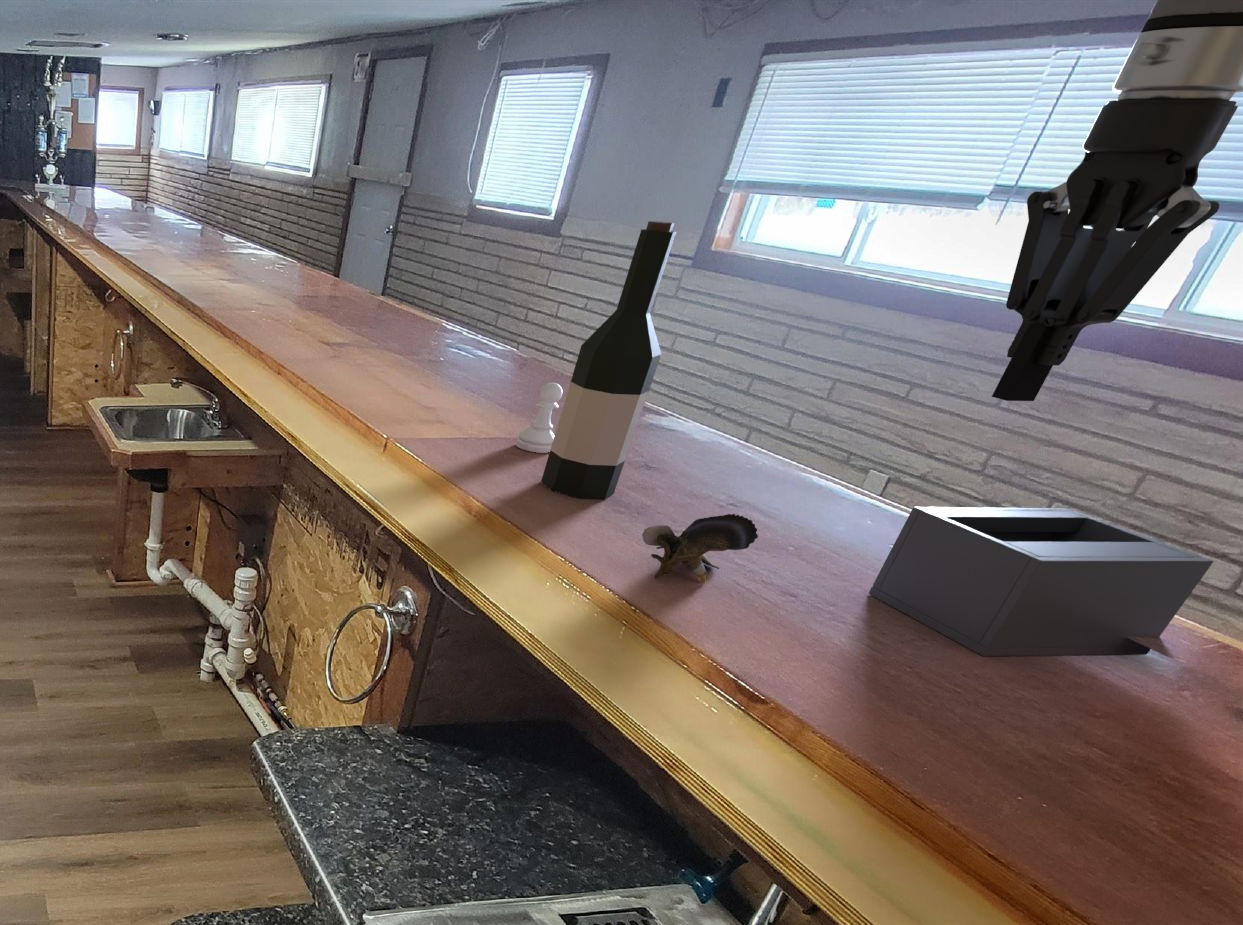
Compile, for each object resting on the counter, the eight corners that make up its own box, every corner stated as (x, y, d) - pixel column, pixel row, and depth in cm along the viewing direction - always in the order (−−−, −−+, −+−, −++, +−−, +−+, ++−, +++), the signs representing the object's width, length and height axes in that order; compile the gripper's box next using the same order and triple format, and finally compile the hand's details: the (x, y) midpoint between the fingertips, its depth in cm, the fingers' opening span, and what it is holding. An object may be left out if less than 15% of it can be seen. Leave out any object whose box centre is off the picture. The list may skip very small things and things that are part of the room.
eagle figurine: (718, 591, 84) (772, 557, 88) (693, 520, 84) (748, 489, 87) (641, 601, 91) (694, 569, 95) (617, 536, 91) (671, 506, 94)
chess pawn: (538, 455, 123) (557, 389, 119) (507, 445, 127) (525, 380, 123) (562, 451, 126) (581, 385, 121) (531, 441, 129) (549, 377, 125)
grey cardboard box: (1067, 507, 85) (1214, 561, 75) (1015, 593, 90) (1147, 654, 79) (913, 506, 84) (1041, 560, 73) (867, 593, 88) (982, 656, 78)
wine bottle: (541, 492, 110) (622, 221, 95) (540, 472, 117) (615, 216, 102) (616, 504, 108) (712, 227, 93) (611, 482, 114) (698, 222, 99)
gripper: (1046, 97, 76) (912, 381, 88) (1229, 92, 65) (1047, 418, 77) (1125, 101, 77) (982, 382, 89) (1319, 96, 66) (1125, 418, 77)
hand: (1012, 398), depth 83 cm, fingers closed
